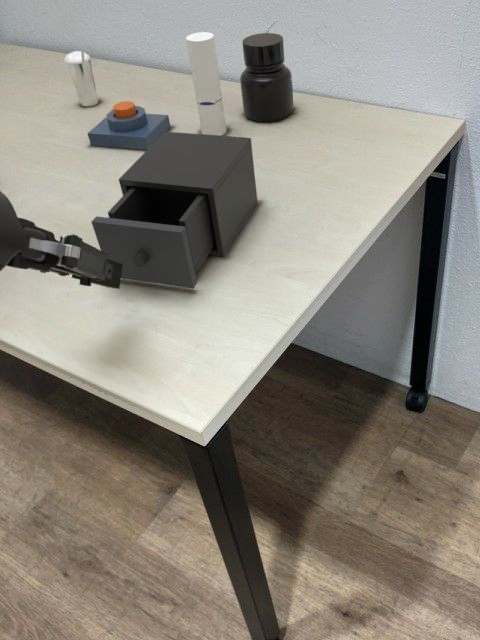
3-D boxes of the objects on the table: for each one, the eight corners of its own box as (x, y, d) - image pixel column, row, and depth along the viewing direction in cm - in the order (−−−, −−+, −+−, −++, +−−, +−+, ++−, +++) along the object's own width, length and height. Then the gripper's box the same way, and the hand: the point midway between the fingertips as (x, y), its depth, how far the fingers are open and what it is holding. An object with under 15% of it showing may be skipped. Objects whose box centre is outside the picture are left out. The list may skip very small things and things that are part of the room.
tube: (218, 124, 107) (204, 30, 96) (231, 131, 104) (218, 36, 94) (197, 131, 105) (181, 37, 95) (210, 139, 103) (195, 43, 92)
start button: (111, 119, 103) (109, 109, 101) (121, 110, 105) (119, 100, 104) (130, 120, 102) (128, 110, 100) (140, 112, 104) (138, 101, 103)
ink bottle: (303, 106, 110) (300, 33, 101) (281, 126, 105) (276, 51, 96) (257, 99, 113) (250, 28, 105) (233, 118, 108) (223, 45, 100)
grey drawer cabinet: (223, 256, 78) (212, 188, 71) (136, 245, 82) (118, 179, 75) (257, 202, 87) (251, 137, 80) (178, 194, 90) (164, 131, 84)
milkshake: (87, 111, 115) (71, 54, 108) (73, 104, 118) (56, 48, 111) (108, 103, 117) (93, 47, 110) (94, 96, 120) (78, 41, 113)
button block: (90, 145, 104) (84, 122, 102) (115, 123, 110) (110, 101, 107) (148, 150, 102) (142, 126, 99) (170, 127, 107) (166, 104, 105)
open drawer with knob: (189, 295, 72) (176, 238, 66) (104, 282, 75) (85, 227, 69) (230, 232, 81) (222, 177, 75) (153, 223, 84) (140, 169, 78)
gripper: (25, 176, 41) (174, 248, 64) (-124, 161, 45) (68, 234, 67) (8, 285, 42) (163, 318, 64) (-138, 262, 45) (58, 301, 68)
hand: (114, 275), depth 66 cm, fingers closed
